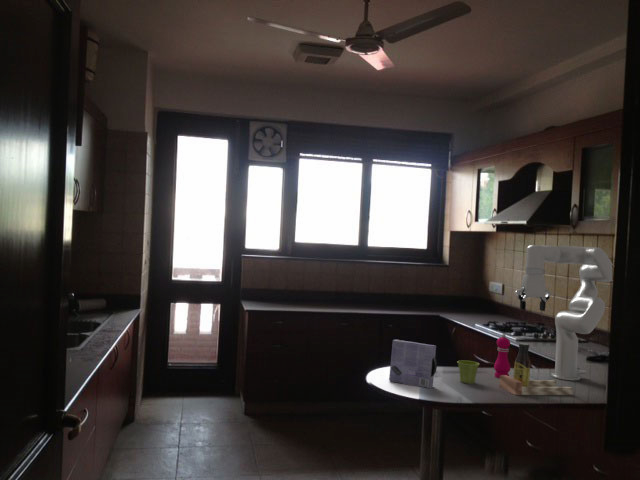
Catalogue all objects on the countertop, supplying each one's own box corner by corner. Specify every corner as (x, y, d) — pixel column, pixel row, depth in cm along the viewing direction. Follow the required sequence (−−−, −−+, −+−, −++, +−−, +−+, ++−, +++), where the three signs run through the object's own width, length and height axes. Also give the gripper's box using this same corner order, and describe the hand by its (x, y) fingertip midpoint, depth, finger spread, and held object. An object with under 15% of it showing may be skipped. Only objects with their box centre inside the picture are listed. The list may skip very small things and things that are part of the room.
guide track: (554, 387, 243) (554, 375, 243) (572, 394, 231) (572, 382, 231) (499, 386, 238) (500, 375, 238) (514, 394, 226) (515, 382, 226)
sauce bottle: (509, 389, 236) (511, 342, 236) (521, 388, 238) (523, 341, 238) (520, 393, 229) (522, 344, 230) (532, 392, 232) (534, 344, 232)
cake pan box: (436, 386, 233) (438, 344, 233) (433, 389, 228) (435, 346, 229) (392, 379, 241) (394, 338, 242) (388, 381, 237) (390, 340, 237)
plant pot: (452, 379, 247) (453, 360, 248) (471, 379, 250) (472, 360, 250) (462, 385, 238) (463, 364, 238) (482, 385, 240) (483, 364, 241)
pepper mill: (497, 374, 263) (499, 332, 263) (512, 377, 258) (514, 334, 259) (491, 376, 257) (493, 333, 258) (506, 379, 253) (508, 335, 253)
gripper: (546, 272, 258) (544, 309, 258) (512, 271, 254) (510, 308, 254) (556, 273, 250) (554, 311, 250) (521, 272, 247) (519, 310, 247)
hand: (532, 310), depth 252 cm, fingers open, 9 cm apart
